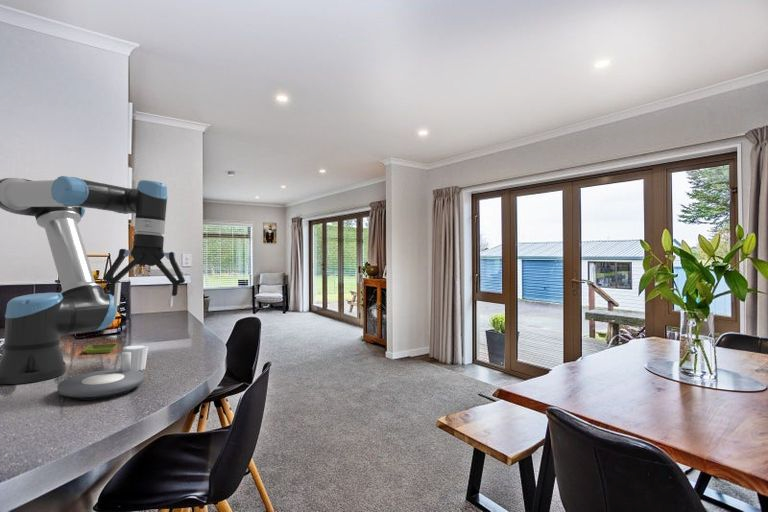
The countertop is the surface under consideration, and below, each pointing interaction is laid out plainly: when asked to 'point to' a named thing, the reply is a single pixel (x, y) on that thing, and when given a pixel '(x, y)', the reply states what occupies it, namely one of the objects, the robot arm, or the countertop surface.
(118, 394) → the base
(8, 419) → the countertop surface
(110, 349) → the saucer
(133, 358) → the white cup
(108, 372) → the disc
